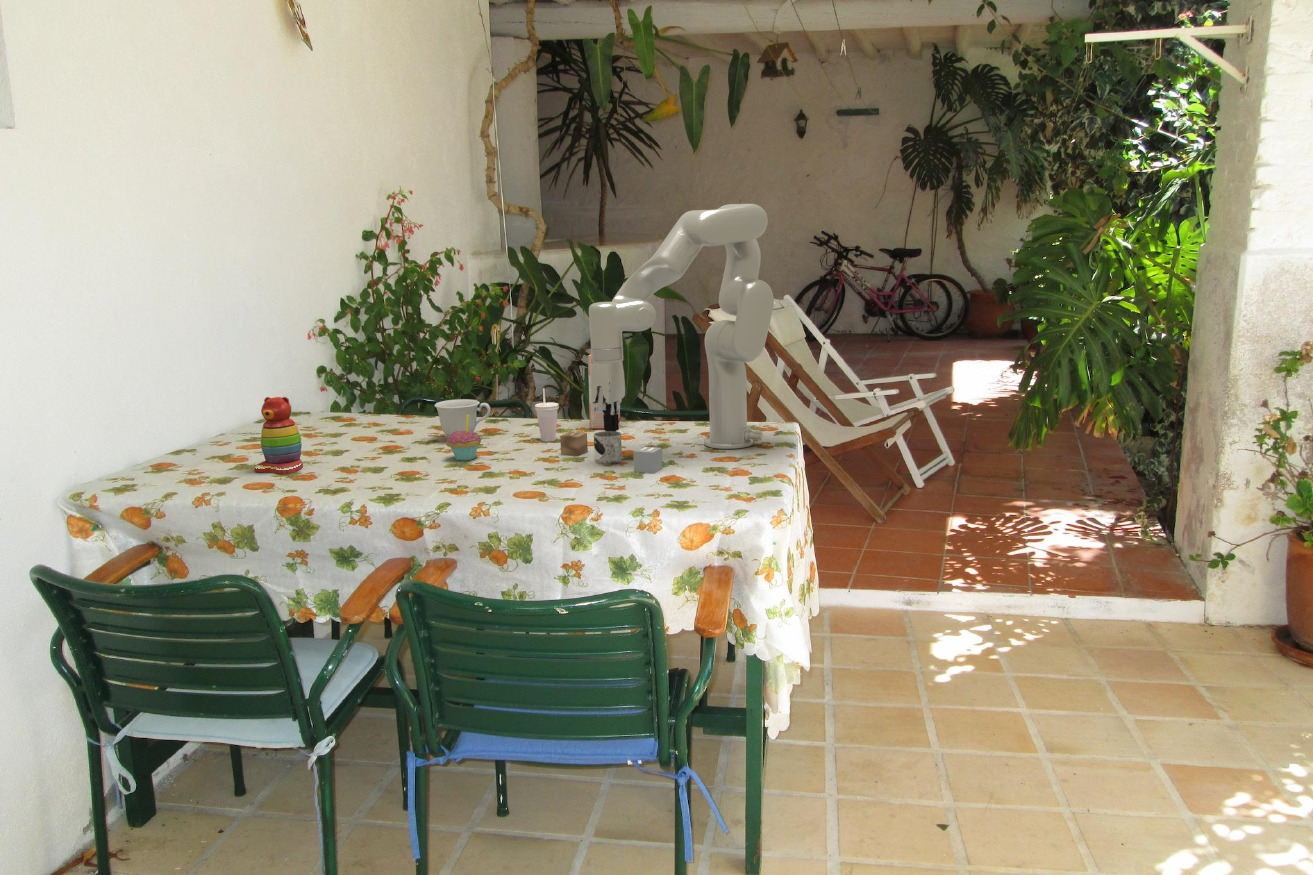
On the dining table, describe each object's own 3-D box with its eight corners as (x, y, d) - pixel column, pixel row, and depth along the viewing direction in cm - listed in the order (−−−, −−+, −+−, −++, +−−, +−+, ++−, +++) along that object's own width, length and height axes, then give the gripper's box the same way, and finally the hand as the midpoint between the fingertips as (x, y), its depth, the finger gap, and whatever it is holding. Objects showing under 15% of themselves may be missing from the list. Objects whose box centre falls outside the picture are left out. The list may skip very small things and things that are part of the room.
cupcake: (488, 456, 264) (485, 409, 261) (469, 463, 256) (465, 415, 254) (460, 453, 268) (457, 407, 265) (440, 461, 260) (436, 413, 258)
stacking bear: (250, 472, 254) (242, 400, 250) (278, 462, 264) (271, 392, 260) (287, 475, 251) (279, 401, 247) (314, 465, 260) (307, 394, 256)
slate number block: (662, 468, 246) (661, 447, 245) (653, 473, 242) (653, 451, 241) (642, 467, 248) (642, 445, 247) (634, 472, 244) (633, 450, 243)
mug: (590, 459, 257) (589, 432, 256) (616, 456, 260) (615, 430, 258) (605, 468, 248) (604, 440, 247) (631, 464, 251) (630, 437, 249)
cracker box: (610, 429, 292) (607, 355, 287) (589, 429, 293) (586, 355, 288) (622, 420, 305) (619, 348, 301) (601, 419, 306) (599, 348, 302)
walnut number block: (587, 452, 266) (586, 432, 265) (578, 456, 261) (577, 436, 260) (570, 450, 268) (569, 431, 267) (561, 455, 263) (560, 435, 262)
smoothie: (536, 438, 283) (533, 387, 281) (560, 437, 284) (558, 386, 281) (536, 443, 277) (533, 390, 274) (560, 442, 278) (557, 389, 275)
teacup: (488, 443, 279) (485, 406, 277) (432, 444, 279) (429, 407, 277) (496, 433, 291) (493, 398, 289) (442, 435, 291) (439, 399, 289)
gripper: (606, 350, 257) (610, 423, 261) (578, 359, 243) (583, 436, 247) (634, 350, 254) (638, 424, 258) (607, 359, 240) (612, 438, 244)
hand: (611, 430), depth 253 cm, fingers closed
